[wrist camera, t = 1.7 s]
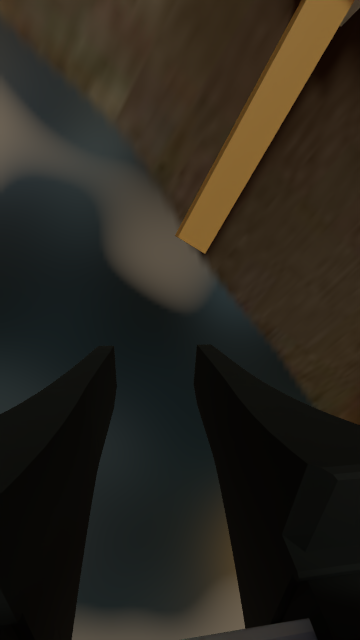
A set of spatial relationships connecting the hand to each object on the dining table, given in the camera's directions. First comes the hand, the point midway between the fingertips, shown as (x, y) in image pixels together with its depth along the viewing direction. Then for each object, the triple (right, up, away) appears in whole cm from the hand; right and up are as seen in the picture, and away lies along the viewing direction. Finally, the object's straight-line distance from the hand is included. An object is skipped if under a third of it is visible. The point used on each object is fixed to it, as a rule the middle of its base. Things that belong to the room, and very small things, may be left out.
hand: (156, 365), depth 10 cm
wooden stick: (+6, +14, +4) cm, 16 cm away
